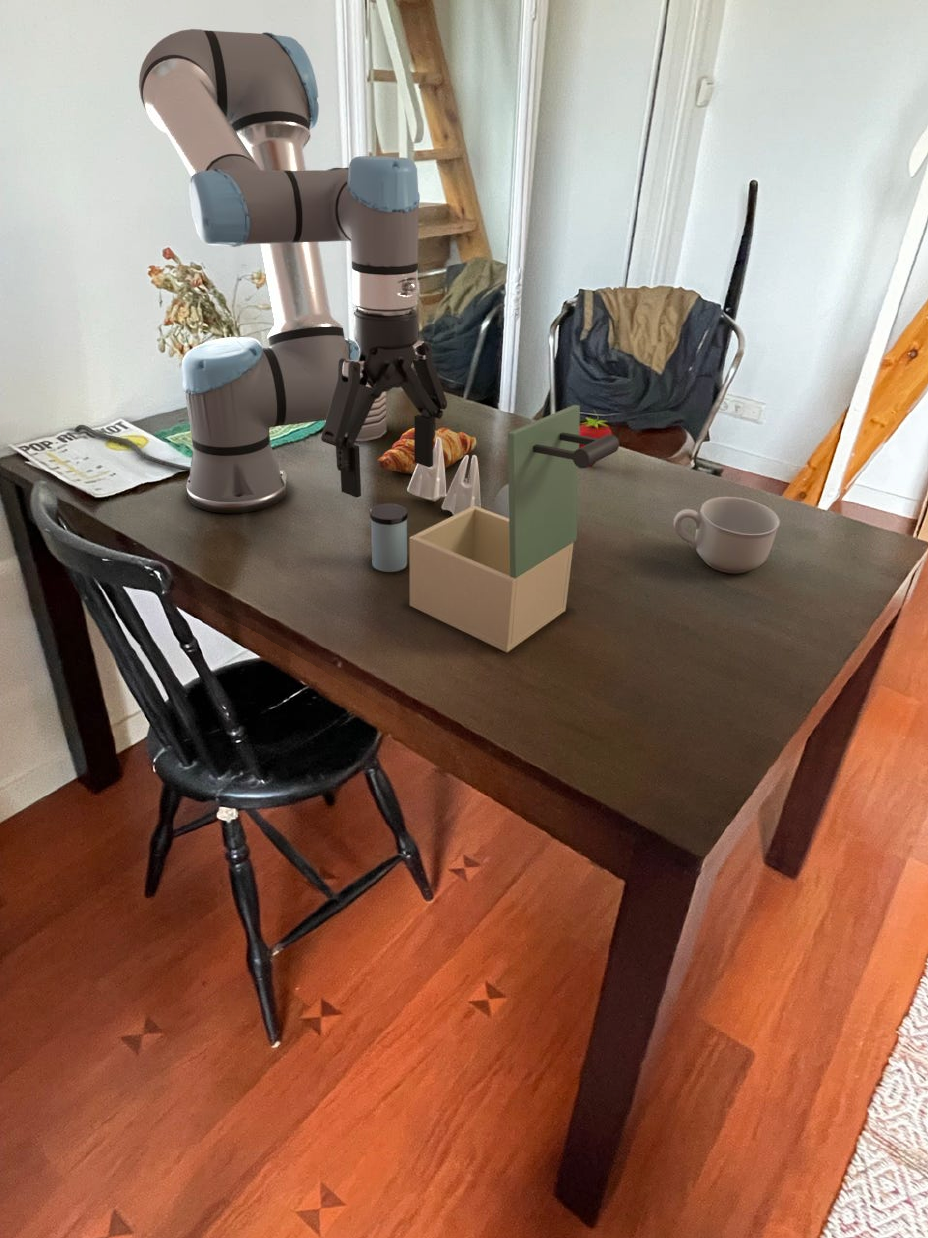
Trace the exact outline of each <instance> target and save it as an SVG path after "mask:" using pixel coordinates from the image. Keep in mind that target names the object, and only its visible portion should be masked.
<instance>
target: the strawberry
mask: <svg viewBox="0 0 928 1238" xmlns="http://www.w3.org/2000/svg"><path fill="white" fill-rule="evenodd" d="M593 412H594V415H596V417H597V418H596V419H595V418H594V419H593V418H590V417H587V416H586V417H585V419H586V421H585V422H580V425H579V435H581V436H586V437H592V438H598V439H600V438H602V437H604V436H606V435H608V434H612V430H611V428H610V426H609V425H608V424H606V423H607V422H609V421H608V420H601V419H600V418H599V415H598V414H597V412H596V411H595V410H593ZM599 419H600V420H599ZM612 435H613V434H612ZM583 446H585V444H579V448H581V447H583ZM596 463H597V462H595V463H593V464H591V465H589V466H588V467H593V466H595V464H596Z"/></svg>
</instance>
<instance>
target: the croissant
mask: <svg viewBox="0 0 928 1238" xmlns="http://www.w3.org/2000/svg"><path fill="white" fill-rule="evenodd" d="M437 437H440V438H441V442H442V449H443V457H444V467H445V469H446V468H448V467H450V466H452V465H454V464H455V463H456V462H457V461H459V460H461V459H462V458H464V457H465V456H466V455H467V454H469V453H471V452H472V451H473V450H474V449H475V448H476V445H477V439H476V436H470V435H468V434H467V433H464V432H462V431H460V432H458V433H457V432H455V431H452V430H451V429H449V428H447V427H440V428H439V429H437V430H436V429H435V438H434V439H433V449H434V447H435V443H436V438H437ZM377 463H378V466H379V467H380V468H381V469H384V470H387V471H390V472H398V473H403V474H412V475H413V474H414V471H415V469H416V466H417V464H418V463H415V462H414V427H412V428H410V429H408V430H406V431H405V432H404V433H402V435H401V436H400V439H399V440H397V441H395V442H394V443H393V445H392V447H391V449H388V450H387V451H385V452H384V453H383V454H382V455H381V457H379V458H378V459H377Z"/></svg>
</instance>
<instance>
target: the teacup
mask: <svg viewBox="0 0 928 1238" xmlns="http://www.w3.org/2000/svg"><path fill="white" fill-rule="evenodd" d="M699 511H700V512H697V511H696V510H694V509H691V508H685V509H682V510H680V511H679V512H677V513H676V514H675V516H674V519H673V522H672V523H673V529H674V531H675V533H676V534H677V535H678V537H679V538H681V539H682V540H683V541H685V542H686V543H688V544H689V547H690V548H691V549H693V550H696V553H697V554H698V555H699V557H700V558H701V559H702V560H703V562H705V564H706V565H708V566H709V567H710V568H712V569H714V570H715V571H716V570H717V571H719V572H722V573H726V574H742V573H747V572H748V571H752V570H754V569H757V568H758V567H760V566H761V565H763V564H764V563H765V562H766V560H767V559H768V557H769V555H770V552H771V550H772V547H773V544H774V542H775V538H776V535H777V532H778V531H777V530H778V529H779V527H780V525H781V524H780V523H781V520H780V518H779V516H778V514H777V513H776V512H775V511H774V510H772V508H770V507H768V506H766V505H764V504H762V503H759V502H757V501H756V500H755V501H754V500H751V499H747V498H744V497H737V496H718V497H713V498H710V499H708V500H706V501H704V502H703V503H702V504H701V506H700V510H699ZM687 518H690V519H692V520H693V521H694V526H695V528H696V530H695V536H693V535H691V534H689V533H688V532H687V531H685V530H684V529H683V528H682V526H681V524H682V521H683V520H684V519H687Z"/></svg>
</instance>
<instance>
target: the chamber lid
mask: <svg viewBox="0 0 928 1238" xmlns="http://www.w3.org/2000/svg"><path fill="white" fill-rule="evenodd" d="M580 417H581V406H580V405H579V404H577V405H576V404H573V405H570V406H567V407H566V408H563V409H561V410H559V411H556V412H554V413H551V414H549V415H547V416H545V417H542V418H540V419H537V420H535V421H533V422H530V423H528V424H526V425H523V426H520V427H518V428H515V429H513V430H511V431H509V432H507V476H508V477H507V478H508V483H507V484H508V486H509V539H510V577H513V578H517V577H519V576H520V575H522V574H523V573H525V572H527V571H528V570H530V569H531V568H533V567H535V566H536V565H538V564H539V563H541V562H543V561H544V560H546V559H547V558H549V557H551V556H552V555H554V554H555V553H557V552H559V551H560V550H562V549H563V548H565V547H567V546H568V545H570V544H571V543H575V542H576V541H578V540H577V539H578V509H579V508H578V503H579V502H578V500H579V469H586V468H587V467H589V465H591V464H593V463H595V462H596V463H597V462H599V461H601V460H603V459H605V458H607V457H608V456H610V455H612V454H614V453H616V452H617V451H618V449H619V448H620V440H619V439H618V437H617V436H616V435H614V434H608V435H606V436H604V437H602V438H600V439H598V438H592V437H586V436H581V435H579V427H580V426H581V424H580V423H581V421H580V420H581V419H580ZM579 444H585V446H583V447H581V448H579ZM596 463H595V464H596Z"/></svg>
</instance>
